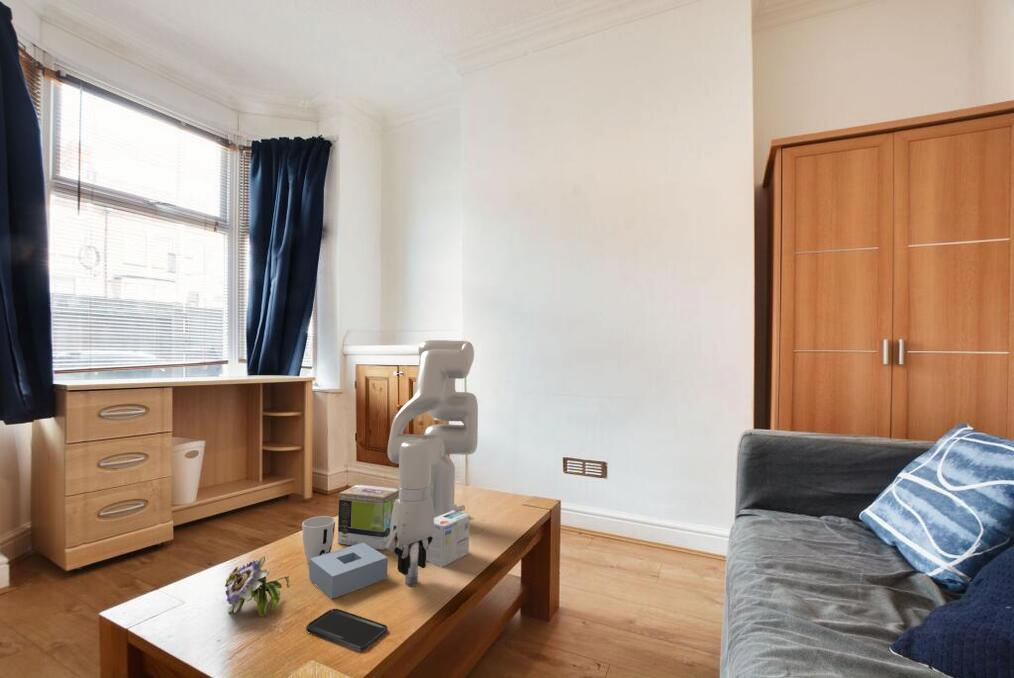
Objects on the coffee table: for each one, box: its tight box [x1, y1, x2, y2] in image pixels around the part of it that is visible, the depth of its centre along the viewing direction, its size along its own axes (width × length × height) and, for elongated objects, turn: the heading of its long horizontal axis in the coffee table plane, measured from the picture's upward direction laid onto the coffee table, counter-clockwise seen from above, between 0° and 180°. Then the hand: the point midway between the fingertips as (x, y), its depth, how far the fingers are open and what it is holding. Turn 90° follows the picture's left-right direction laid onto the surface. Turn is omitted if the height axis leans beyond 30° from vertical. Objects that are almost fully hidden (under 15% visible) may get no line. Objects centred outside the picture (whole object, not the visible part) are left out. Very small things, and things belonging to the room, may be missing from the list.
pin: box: [404, 541, 419, 587], centre depth 110 cm, size 3×3×10 cm
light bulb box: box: [426, 510, 471, 568], centre depth 124 cm, size 11×7×11 cm, turn 145°
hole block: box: [308, 543, 389, 600], centre depth 111 cm, size 14×12×5 cm
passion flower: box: [224, 555, 290, 618], centre depth 99 cm, size 11×11×12 cm
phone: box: [305, 608, 388, 653], centre depth 91 cm, size 8×1×15 cm
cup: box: [301, 515, 336, 564], centre depth 121 cm, size 8×8×10 cm
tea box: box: [337, 484, 398, 551], centre depth 134 cm, size 15×10×15 cm
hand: (411, 568), depth 110 cm, fingers open, 4 cm apart
